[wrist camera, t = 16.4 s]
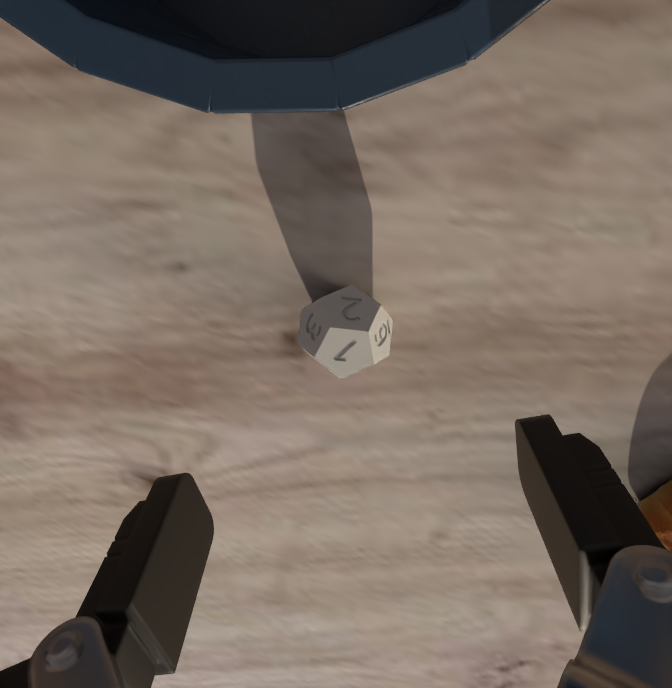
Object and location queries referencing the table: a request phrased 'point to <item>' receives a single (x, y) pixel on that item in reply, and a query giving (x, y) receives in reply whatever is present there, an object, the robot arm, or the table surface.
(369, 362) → the game die
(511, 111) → the table surface
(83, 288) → the table surface
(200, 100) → the pot
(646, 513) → the pastry
